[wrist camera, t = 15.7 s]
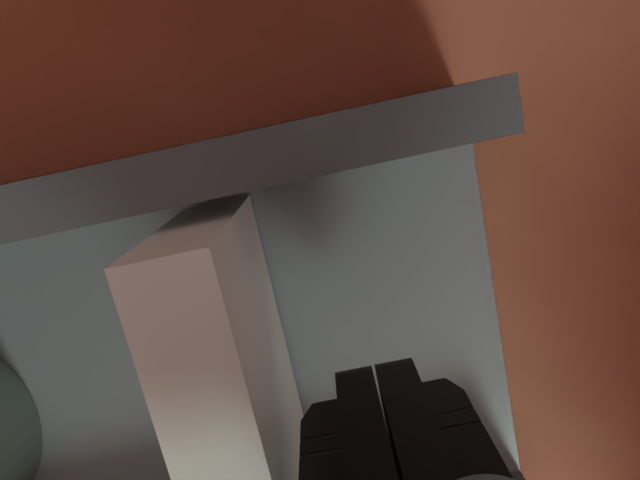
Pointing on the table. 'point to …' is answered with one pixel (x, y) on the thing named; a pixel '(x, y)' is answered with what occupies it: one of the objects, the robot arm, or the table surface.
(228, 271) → the block
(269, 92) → the table surface
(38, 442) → the small jar
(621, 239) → the table surface
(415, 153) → the grey tray
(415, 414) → the robot arm
